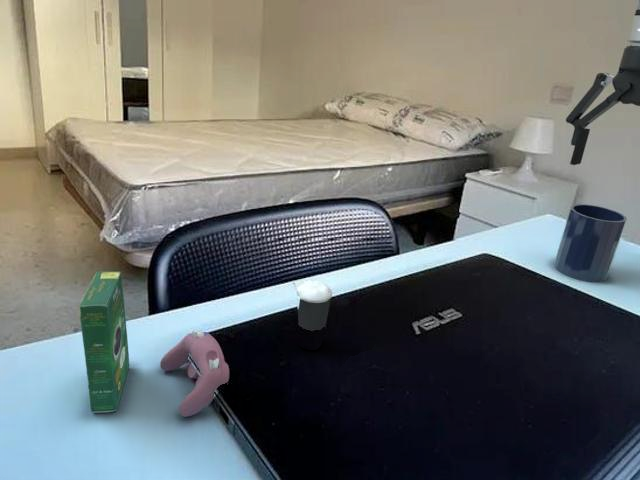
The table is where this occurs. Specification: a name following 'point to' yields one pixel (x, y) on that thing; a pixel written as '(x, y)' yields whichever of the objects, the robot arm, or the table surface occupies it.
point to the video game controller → (209, 365)
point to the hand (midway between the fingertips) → (612, 173)
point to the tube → (589, 242)
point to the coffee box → (105, 340)
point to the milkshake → (313, 304)
